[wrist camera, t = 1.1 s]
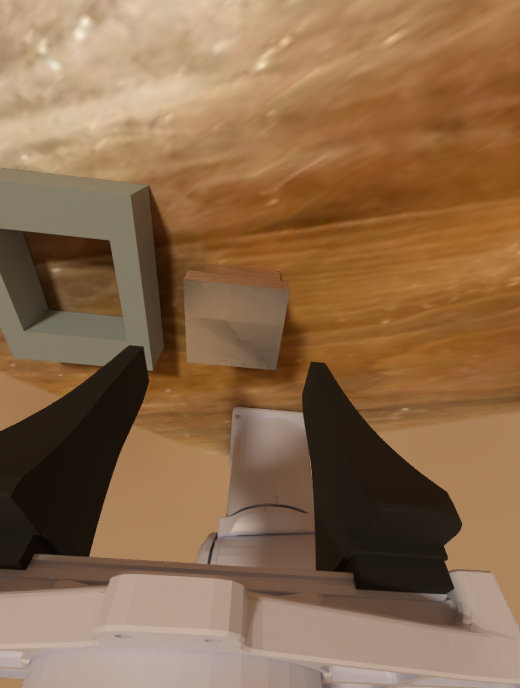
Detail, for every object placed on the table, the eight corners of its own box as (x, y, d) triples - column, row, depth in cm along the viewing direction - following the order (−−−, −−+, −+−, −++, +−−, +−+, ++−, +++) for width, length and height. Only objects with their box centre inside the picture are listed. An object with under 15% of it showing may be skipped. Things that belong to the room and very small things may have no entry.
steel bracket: (274, 309, 23) (276, 370, 18) (207, 302, 23) (187, 361, 18) (284, 242, 20) (289, 290, 15) (207, 233, 20) (183, 279, 15)
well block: (164, 346, 26) (152, 370, 23) (38, 334, 25) (14, 357, 23) (148, 185, 19) (130, 195, 16) (-25, 165, 18) (-71, 172, 16)
